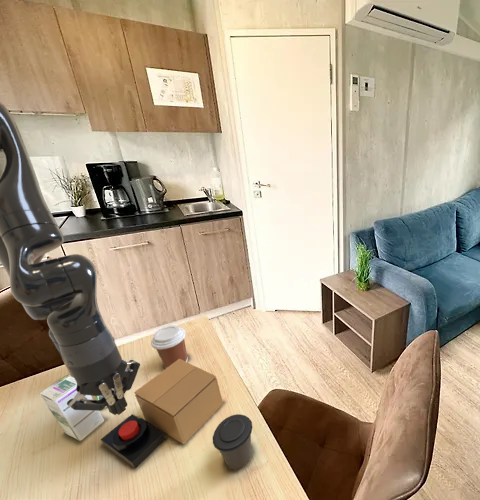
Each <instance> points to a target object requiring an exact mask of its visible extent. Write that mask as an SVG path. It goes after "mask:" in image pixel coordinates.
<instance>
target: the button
mask: <svg viewBox="0 0 480 500" xmlns="http://www.w3.org/2000/svg"><path fill="white" fill-rule="evenodd" d="M139 429H140V428H139V425H138V423H137V421H129V422H127V423H125V424H124V425H123V426H121V428H120V429H119V432H118V433H119V436H120V437H121V439H122V440H129V439H131V438H133V437H134V436H135V435H136V434H137V433H138V432H139Z"/></svg>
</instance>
